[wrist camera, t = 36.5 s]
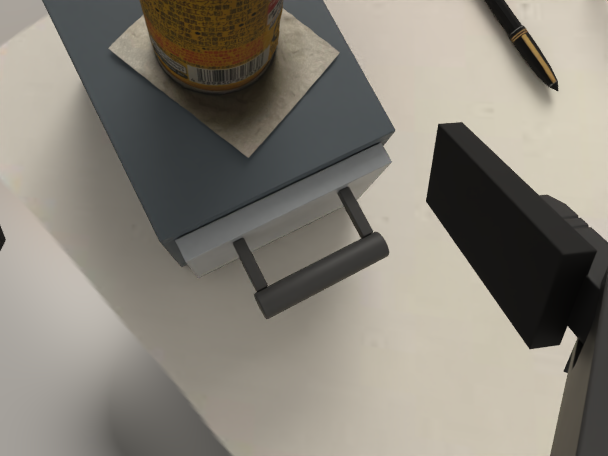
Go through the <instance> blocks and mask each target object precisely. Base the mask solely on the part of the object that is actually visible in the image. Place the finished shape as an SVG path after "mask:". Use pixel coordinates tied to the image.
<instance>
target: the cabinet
mask: <svg viewBox="0 0 608 456" xmlns="http://www.w3.org/2000/svg"><path fill="white" fill-rule="evenodd" d="M42 1H43V3H44V5H45V7H46V9H47V11H48V13H49V15H50V17H51V19H52V21H53V23H54V26H55V28H56V30H57V32H58V34H59V36H60V38H61V40H62V42H63V44H64V46H65V48H66V50H67V52H68V54H69V56H70V58H71V60H72V62H73V65H74V67H75V69H76V71H77V73H78V75H79V77H80V79H81V81H82V83H83V85H84V87H85V89H86V91H87V93H88V95H89V97H90V99H91V101H92V104H93V106H94V108H95V110H96V112H97V114H98V116H99V118H100V120H101V122H102V124H103V126H104V128H105V130H106V132H107V134H108V136H109V138H110V141H111V143H112V145H113V147H114V149H115V151H116V153H117V155H118V157H119V159H120V161H121V163H122V165H123V167H124V169H125V171H126V173H127V175H128V177H129V180H130V182H131V184H132V186H133V188H134V190H135V192H136V194H137V196H138V198H139V200H140V202H141V204H142V206H143V208H144V210H145V212H146V214H147V216H148V219H149V221H150V223H151V225H152V227H153V229H154V231H155V233H156V235H157V237H158V239H159V241H160V242H161V243H162V245H163V246H164V247H165V248H166V249H167V250H168V252H169V253H170V254H171V255H172V256H173V258H174V259H175V260H176V261H177V262H178V263H179V265H180V266H181V267H183V266H185V265H187V263H186V262H185V260H184V258H183V256H182V254H181V252H180V250H179V248H178V246H177V244H176V242H175V240H176V239H177V238H180V237H182V236H184V235H186V234H188V232H190V231H192V230H194V229H196V228H198V227H200V226H203V225H205V224H207V223H209V222H211V221H213V220H215V219H217V218H219V217H222V216H224V215H226V214H228V213H230V212H232V211H234V210H236V209H238V208H241V207H243V206H245V205H247V204H249V203H251V202H253V201H255V200H257V199H260V198H262V197H264V196H266V195H268V194H270V193H272V192H274V191H276V190H279V189H281V188H283V187H285V186H287V185H289V184H291V183H293V182H295V181H298V180H300V179H302V178H304V177H306V176H308V175H310V174H312V173H314V172H317V171H319V170H321V169H323V168H325V167H327V166H329V165H331V164H333V163H334V164H336V163H338V162H340V161H342V160H344V159H346V158H348V157H350V156H353V155H355V154H357V153H359V152H361V151H363V150H365V149H367V148H369V147H372V146H374V145H376V144H378V143H380V142H381V143H382V145H383V146H384V144H385V143H386V142H387V140H388V139H389V138H390V136H392V134H393V133H394V132H395V128H394V127H393V125H392V123H391V121H390V120H389V118H388V116H387V114H386V112H385V111H384V109H383V107H382V105H381V103H380V102H379V100H378V98H377V96H376V94H375V93H374V91H373V89H372V87H371V86H370V84H369V82H368V80H367V78H366V77H365V75H364V73H363V71H362V69H361V68H360V66H359V64H358V62H357V60H356V59H355V57H354V55H353V53H352V52H351V50H350V48H349V46H348V44H347V43H346V41H345V39H344V37H343V35H342V34H341V32H340V30H339V28H338V26H337V25H336V23H335V21H334V19H333V18H332V16H331V14H330V12H329V10H328V9H327V7H326V5H325V3H324V1H323V0H283V9H284V10H286V11H287V12H288V13H290V14H292V15H293V16H294V17H295V18H296V19H297V20H299V21H300V22H301V23H302V24H304V25H305V26H307V27H309V28H310V29H311V30H312V31H313V32H314V33H315V34H316V35H318V36H319V37H320V38H322V39H323V40H325V41H326V42H327V43H329V44H330V45H331V46H332V47H333V48H335V49H336V50H337V51H338V52H340V53H339V54H338V56H337V57H336V58H335V59H334V60H333V61H332V63H331V64H330V65H329V66H328V67H327V68H326V70H325V71H324V72H323V73H322V74H321V76H320V77H319V78H318V79H317V80H316V81H315V82H314V84H312V86H311V87H310V88H309V89H308V91H307V92H306V93H305V95H304V96H303V97H302V98H301V99H300V100H299V101H298V102H297V103H296V105H295V106H294V107H293V108H292V109H291V110H290V112H289V113H288V114H287V115H286V116H285V117H284V119H283V120H282V121H281V122H280V123H279V124H278V125H277V126H276V127H275V129H274V130H273V131H272V132H271V133H270V134H269V135H268V137H267V138H266V139H265V140H264V141H263V142H262V144H261V145H259V146H258V148H257V149H256V150H255V151H254V152H253V153H252V155H251V156H250V157H249V158H248V157H247V156H245V155H244V154H243V153H241V152H240V151H239V150H238V149H236V148H235V147H234V146H233V145H232V144H230V143H229V142H228V141H226V140H225V139H223V138H222V137H220V136H219V135H218V134H216V133H215V132H214V131H213V130H211V129H210V128H209V127H208V126H207V125H205V124H204V123H203V122H201V121H200V120H199V119H198V118H197V117H196V116H194V115H193V114H192V113H190V112H189V111H188V110H186V109H185V108H183V107H182V106H181V105H179V104H178V103H177V102H176V101H174V100H173V99H172V98H170V97H169V96H168V95H166V94H165V93H164V92H163V91H161V90H160V89H158V88H157V87H156V86H155V85H154V84H152V83H151V82H150V81H149V80H147V79H146V78H145V77H144V76H142V75H141V74H140V73H138V72H137V71H136V70H135V69H133V68H132V67H131V66H130V65H128V64H127V63H126V62H125V61H123V60H122V59H121V58H120V57H119V56H117V55H116V54H115V53H113V52H112V51H111V50H110V49H108V48H109V47H110V46H111V45H112V44H113V43H114V42H115V41H116V40H117V39H118V38H119V37H120V36H121V35H122V34H123V33H124V32H125V31H126V30H127V29H128V28H129V27H130V26H131V25H133V24H134V23H135V22H136V21H137V20H138V19H140V18H141V17H142V16H143V12H142V8H141V4H140V2H139V0H42Z"/></svg>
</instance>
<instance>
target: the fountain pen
mask: <svg viewBox="0 0 608 456" xmlns="http://www.w3.org/2000/svg"><path fill="white" fill-rule="evenodd" d="M485 1H486V3H487V4H488V6H489V7H490V9H491V10H492V12H493V13H494V15H495V16H496V17H497V19H498V20H499V22H500V23H501V25H502V26H503V28H504V29H505V30H506V32H507V33H508V35H509V38H510V40H511V41H512V42H513V44H514V45H515V47H516V48H517V49H518V51H519V52H520V54H521V55H522V56H523V58H524V59H525V60H526V62H527V63H528V64H529V65H530V67H531V68H532V69H533V70H534V72H535V73H536V74H537V75H538V77H539V78H540V79H541V80H542V81H543V82H544V83H545V84H546V85H547V86H548V87H550V88H552V89H554V90H556V91H558V80H557V78H556V76H555V74H554V72H553V70H552V68H551V66H550V65H549V63H548V62H547V60H546V58H545V57H544V55H543V53H542V52H541V50H540V49H539V47H538V46H537V44H536V43H535V41H534V40H533V38H532V37H531V35H530V34H529V33H528V31H527V30H526V28H525V27H524V26H523V25H521V23H520V22H519V21H518V19H517V18H516V16H515V15H514V14H513V12H512V11H511V9H510V8H509V7H508V5H507V4H506V2H505V1H504V0H485Z"/></svg>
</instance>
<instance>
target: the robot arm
mask: <svg viewBox="0 0 608 456" xmlns="http://www.w3.org/2000/svg"><path fill="white" fill-rule="evenodd" d="M426 202H427V203H428V205H429V206H430V208H431V209H432V211H433V212H434V213H435V215H436V216H437V218H438V219H439V220H440V222H441V223H442V225H443V226H444V228H445V229H446V230H447V232H448V233H449V235H450V236H451V238H452V239H453V240H454V242H455V243H456V245H457V246H458V248H459V249H460V250H461V252H462V253H463V255H464V256H465V258H466V259H467V260H468V262H469V263H470V265H471V266H472V268H473V269H474V270H475V272H476V273H477V275H478V276H479V278H480V279H481V280H482V282H483V283H484V285H485V286H486V288H487V289H488V290H489V292H490V293H491V295H492V296H493V298H494V299H495V300H496V302H497V303H498V305H499V306H500V307H501V309H502V310H503V312H504V313H505V315H506V316H507V317H508V319H509V320H510V322H511V323H512V325H513V326H514V327H515V329H516V330H517V332H518V333H519V335H520V336H521V337H522V339H523V340H524V342H525V343H526V345H527V346H528V347H529V349H534V348H541V347H549V346H556V345H560V343H561V341H562V338H563V336H564V333H565V331H566V328H567V326H568V327H569V328H570V329H571V330H572V331H573V333H574V334H575V335H576V336H577V341H576V343H575V345H574V348H573V350H572V353H571V355H570V357H569V360H568V362H567V364H566V367H565V369H564V372H566V373H568V375H567V379H566V384H565V389H564V393H563V398H562V403H561V407H560V412H559V417H558V421H557V426H556V431H555V435H554V440H553V445H552V449H551V454H550V456H608V242H607V241H606V240H605V239H603V238H602V237H601V236H600V235H599V234H598V233H597V232H596V231H595V230H594V229H592V228H591V227H588V224H587V223H586V222H585V221H584V220H583V219H581V218H578V215H577V214H576V213H575V212H574V211H573V210H571V209H570V208H569V207H568V206H567V205H566V204H564V203H562V202H560V201H559V200H557V199H555V198H553V197H551V196H549V195H538V194H537V193H536V192H535V191H534V190H533V189H532V188H531V187H530V186H529V185H528V184H526V183H525V182H524V181H523V180H522V179H521V178H520V177H519V176H518V175H517V174H516V173H515V172H514V171H513V170H512V169H511V168H510V167H509V166H508V165H506V164H505V163H504V162H503V161H502V160H501V159H500V158H499V157H498V156H497V155H496V154H495V153H494V152H493V151H492V150H491V149H490V148H489V147H488V146H486V145H485V144H484V143H483V142H482V141H481V140H480V139H479V138H478V137H477V136H476V135H475V134H474V133H473V132H472V131H471V130H470V129H469V128H468V127H466V126H465V125H464V124H463V123H462V122H459V123H445V124H438V130H437V136H436V142H435V148H434V155H433V161H432V167H431V173H430V180H429V186H428V192H427V198H426ZM5 240H6V239H5V237H4V234H3V231H2V229H1V226H0V250H1V249H2V246H3V244H4V242H5Z"/></svg>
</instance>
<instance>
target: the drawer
mask: <svg viewBox="0 0 608 456" xmlns="http://www.w3.org/2000/svg"><path fill="white" fill-rule="evenodd" d="M391 162H392V161H391V159H390V158H389V156H388V154H387V152H386V150H385V148H384V147H383V145H382V143H381V142H380V143H378V144H376V145H374V146H372V147H369V148H367V149H365V150H363V151H361V152H359V153H357V154H355V155H353V156H350V157H348V158H346V159H344V160H342V161H340V162H338V163H336V164H334V163H333V164H331V165H329V166H327V167H325V168H323V169H321V170H319V171H317V172H314V173H312V174H310V175H308V176H306V177H304V178H302V179H300V180H298V181H295V182H293V183H291V184H289V185H287V186H285V187H283V188H281V189H279V190H276V191H274V192H272V193H270V194H268V195H266V196H264V197H262V198H260V199H257V200H255V201H253V202H251V203H249V204H247V205H245V206H243V207H241V208H238V209H236V210H234V211H232V212H230V213H228V214H226V215H224V216H222V217H219V218H217V219H215V220H213V221H211V222H209V223H207V224H205V225H203V226H200V227H198V228H196V229H194V230H192V231H190V232H188V234H186V235H184V236H182V237H180V238H177V239H176V240H175V242H176V244H177V246H178V248H179V250H180V252H181V254H182V256H183V258H184V260H185V262H186V263H187V264H188V266H189V267H190V269H191V270H192V271H193V273H194V274H195V275H196V277H197V278H200V277H202V276H204V275H206V274H208V273H210V272H212V271H214V270H216V269H218V268H220V267H222V266H224V265H226V264H228V263H230V262H232V261H234V260H236V259H238V258H240V260H241V262H242V264H243V266H244V268H245V270H246V272H247V274H248V276H249V278H250V280H251V282H252V284H253V286H254V288H255V290H256V291H257V292H256V293H255V294H254V297H255V299H256V302H257V304H258V306H259V308H260V310H261V312H262V313H263V315H264V317H265V318H266V319H269V318H271V317H273V316H275V315H277V314H278V313H280V312H282V311H284V310H286V309H288V308H290V307H292V306H294V305H296V304H297V303H299V302H301V301H303V300H305V299H307V298H309V297H311V296H313V295H315V294H316V293H318V292H320V291H322V290H324V289H326V288H328V287H330V286H332V285H334V284H336V283H337V282H339V281H341V280H343V279H345V278H347V277H349V276H351V275H353V274H355V273H356V272H358V271H360V270H362V269H364V268H366V267H368V266H370V265H372V264H374V263H376V262H377V261H379V260H381V259H383V258H385V257H387V256H388V255H389V249H388V246H387V243H386V241H385V240H384V238H383V237H382V236H381V234H380V233H378V232H374V233H373V230H372V228H371V227H370V225H369V223H368V221H367V219H366V217H365V215H364V214H363V212H362V210H361V208H360V206H359V204H358V202H357V201H356V200H357V199H358V198H359V197H360V196H361V195H362V194H363V193H364V192H365V191H366V190H367V189H368V188H369V186H370V185H371V184H372V183H373V182H374V181H375V180H376V179H377V178H378V177H379V176H380V174H381V173H382V172H383V171H384V170H385V169H386V168H387V167H388V166H389V165H390V164H391ZM343 206H344V207H345V209H346V211H347V213H348V215H349V217H350V219H351V220H352V222H353V224H354V226H355V228H356V230H357V232H358V233H359V235H360V237H361V238H362V239H360V240H358V241H356V242H354V243H352V244H350V245H348V246H346V247H344V248H342V249H340V250H338V251H336V252H334V253H332V254H331V255H329V256H327V257H325V258H323V259H321V260H319V261H317V262H315V263H313V264H311V265H309V266H307V267H305V268H303V269H301V270H299V271H297V272H295V273H293V274H291V275H289V276H288V277H286V278H284V279H282V280H280V281H278V282H276V283H274V284H272V285H270V286H268V285H267V283H266V281H265V279H264V277H263V275H262V273H261V271H260V269H259V267H258V265H257V263H256V261H255V259H254V257H253V255H252V253H251V252H252V251H254V250H256V249H258V248H260V247H262V246H264V245H266V244H268V243H270V242H272V241H274V240H276V239H278V238H281V237H283V236H285V235H287V234H289V233H291V232H293V231H295V230H297V229H299V228H301V227H303V226H305V225H307V224H309V223H311V222H313V221H315V220H317V219H319V218H321V217H323V216H325V215H327V214H329V213H331V212H333V211H335V210H337V209H339V208H341V207H343ZM371 233H372V234H371ZM267 286H268V287H267Z"/></svg>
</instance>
